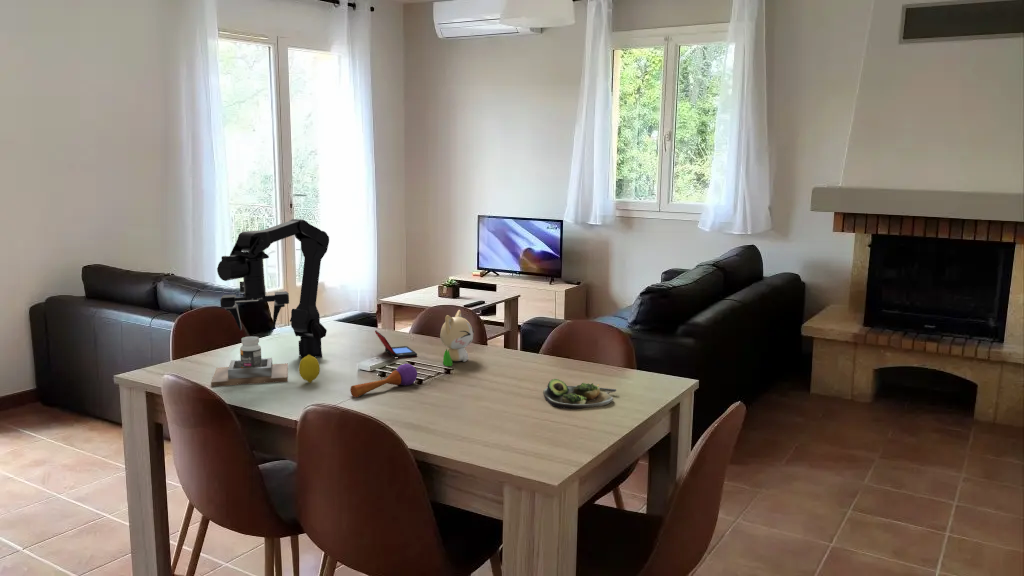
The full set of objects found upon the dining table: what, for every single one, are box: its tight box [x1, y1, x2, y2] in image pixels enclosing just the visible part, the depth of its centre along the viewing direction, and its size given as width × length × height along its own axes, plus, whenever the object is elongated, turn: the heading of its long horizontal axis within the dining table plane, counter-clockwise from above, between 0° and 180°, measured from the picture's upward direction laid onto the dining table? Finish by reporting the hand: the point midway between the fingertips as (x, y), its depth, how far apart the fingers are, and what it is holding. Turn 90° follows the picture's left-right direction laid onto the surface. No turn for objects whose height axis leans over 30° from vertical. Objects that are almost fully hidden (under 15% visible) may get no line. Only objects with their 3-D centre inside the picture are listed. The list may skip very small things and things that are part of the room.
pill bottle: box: [239, 335, 262, 368], centre depth 229 cm, size 6×6×10 cm
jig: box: [210, 357, 289, 387], centre depth 229 cm, size 20×16×4 cm
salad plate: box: [542, 378, 617, 410], centre depth 209 cm, size 19×18×5 cm
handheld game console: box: [374, 330, 418, 359], centre depth 256 cm, size 12×11×7 cm
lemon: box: [298, 355, 321, 384], centre depth 223 cm, size 6×6×8 cm
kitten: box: [439, 309, 475, 367], centre depth 247 cm, size 15×10×15 cm
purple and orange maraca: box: [349, 363, 418, 398], centre depth 217 cm, size 6×6×20 cm
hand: (257, 328), depth 234 cm, fingers open, 9 cm apart
